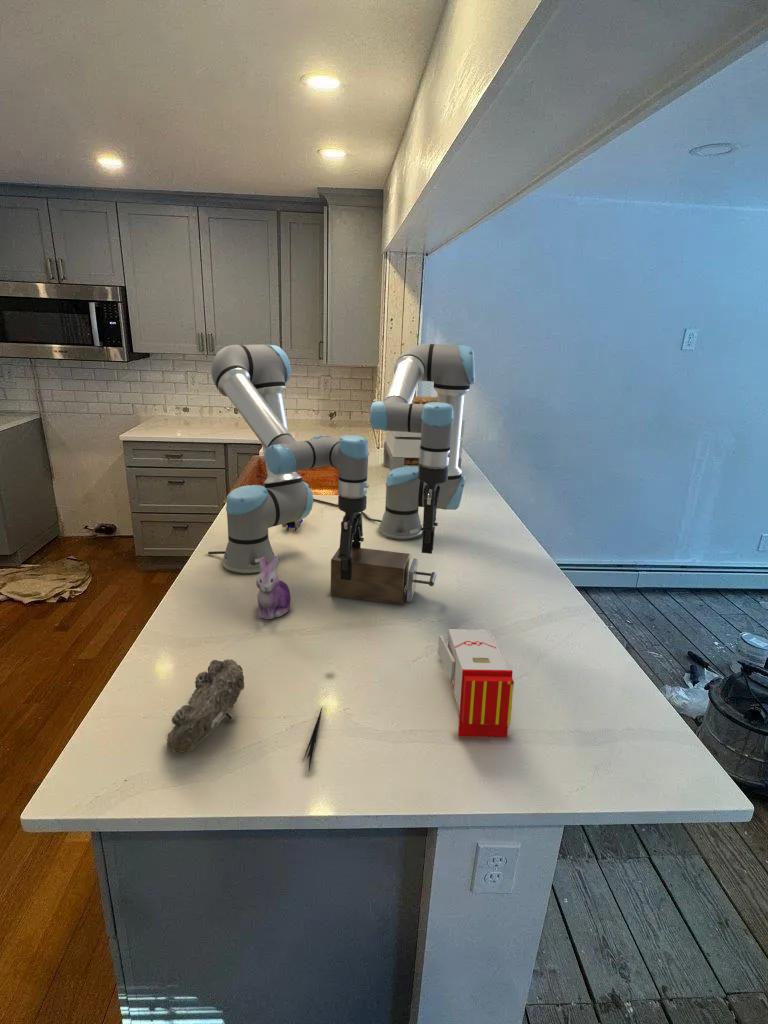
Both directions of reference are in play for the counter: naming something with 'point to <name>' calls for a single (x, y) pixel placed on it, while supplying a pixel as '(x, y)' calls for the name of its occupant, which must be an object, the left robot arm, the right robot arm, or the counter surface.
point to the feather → (313, 740)
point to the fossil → (206, 705)
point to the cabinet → (371, 576)
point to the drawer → (413, 581)
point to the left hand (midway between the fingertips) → (350, 570)
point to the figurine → (271, 591)
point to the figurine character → (292, 525)
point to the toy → (478, 682)
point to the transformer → (408, 444)
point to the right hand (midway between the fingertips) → (427, 550)
